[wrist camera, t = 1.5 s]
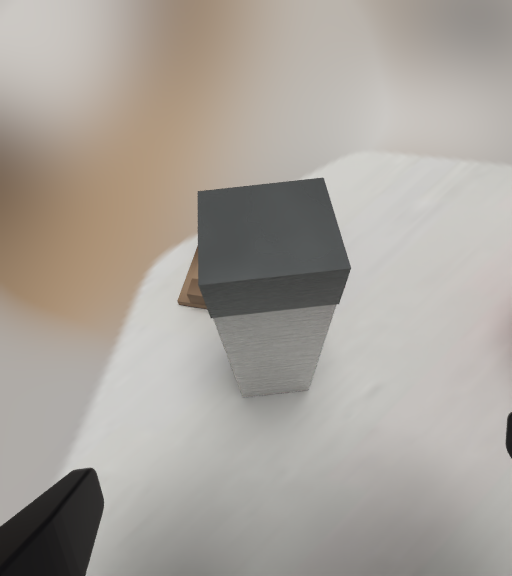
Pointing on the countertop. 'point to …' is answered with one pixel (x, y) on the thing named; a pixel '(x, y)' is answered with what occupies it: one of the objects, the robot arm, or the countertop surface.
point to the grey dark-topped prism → (271, 279)
